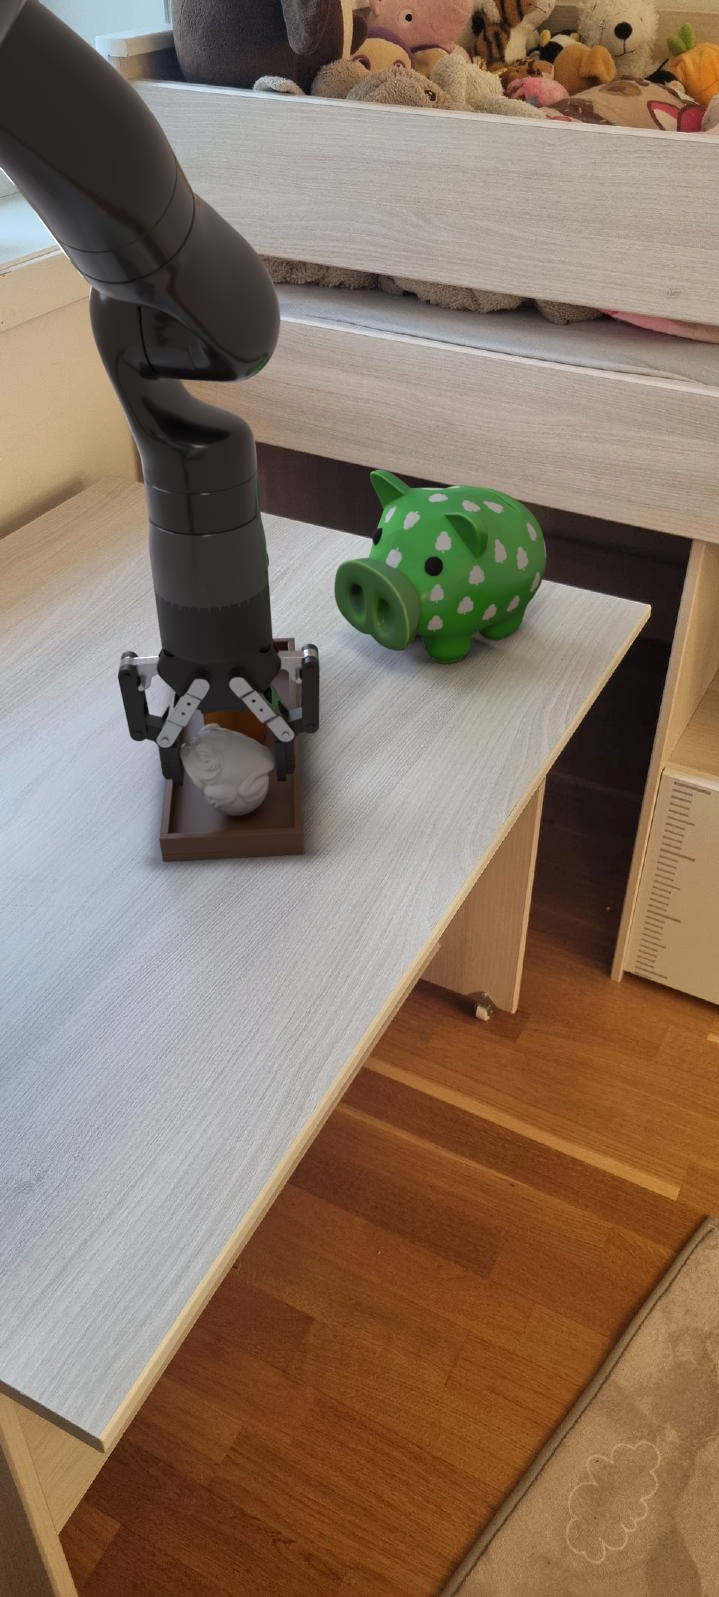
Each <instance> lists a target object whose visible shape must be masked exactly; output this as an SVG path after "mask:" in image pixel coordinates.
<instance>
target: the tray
mask: <svg viewBox="0 0 719 1597" xmlns="http://www.w3.org/2000/svg"><path fill="white" fill-rule="evenodd" d="M273 640H274V642H275V644H276V646H277V647H278V648H279V650H280V651H296V639H295V637H280V638H278V637H277V638H275V637H273ZM271 683H272V685H273V686H274V687H275V688H276V690H277V692H278V695H279V697H280V698H281V699H282V700H283V702H284V703H285V704H286V705H287V707H288V708H289V709H290V710H294V709H297V708H299V707H298V706H299V704H298V684H297V683H296V682H294V681H292V680H291V678H290V674H289V672H288V671H286V670H284V669H280V671H279V673H278V674H277V676H276V677H275V678H274V680H273V681H272V682H271ZM203 727H204V720H203V714H201V710H197V709H196V710H195V712H194V713H193V715H192V717H191V718H190V720H189V722H188V723H187V725H186V726H185V727H183V728H182V730H181V731H180V741H181V745H182V744H184V743H186V742H187V741H188V740H189V739H191V738H192V737H195V738H197V736H198V734H199V732H200V730H201V729H202V728H203ZM266 729H267V735H266V738H265V740H264V741H263V742H262V743H261V745H263V746H265V747H267V748H268V749H269V750H270V751H271V752H272V754H273V755H274V757H275V759H276V755H275V734H274V733H273V732H272V730H271V729H270V728H269V727H268V726H267V725H266ZM294 746H295V766H296V768H295V771H294V773H293V774H287V781H280V782H277V769H276V767H275V768H274V769H273V770H271V771H270V772H269V773H268V777H269V785H268V791H267V794H266V796H265V798H264V800H263V802H262V803H261V804H260V805H259V806H258V807H257V808H256V809H255V810H253V811H252V812H250V813H247V814H245V815H240V816H229V815H225V814H222V813H220V812H218V811H216V810H215V809H213V808H212V807H211V806H210V805H209V803H208V802H207V801H206V799H205V797H204V795H203V792H202V789H198V788H197V787H196V785H194V782H193V781H192V779H191V778H190V776H189V775H188V773H187V771H186V770H185V769H184V779H183V786H173V783H172V779H169V780H166V779H165V780H164V782H165V783H164V792H163V802H162V809H161V821H160V828H159V830H160V831H159V838H158V839H159V846H160V852H161V859H162V862H175V861H177V862H178V861H194V860H195V861H197V860H214V859H215V860H216V859H232V858H233V859H234V858H253V857H273V856H274V857H275V856H290V855H293V856H294V855H304V854H305V847H304V844H305V843H304V824H303V801H302V800H303V799H302V798H303V797H302V779H301V778H302V777H301V776H302V775H301V754H300V752H301V750H300V734H298V735H297V736H296V737H295V739H294Z"/></svg>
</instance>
